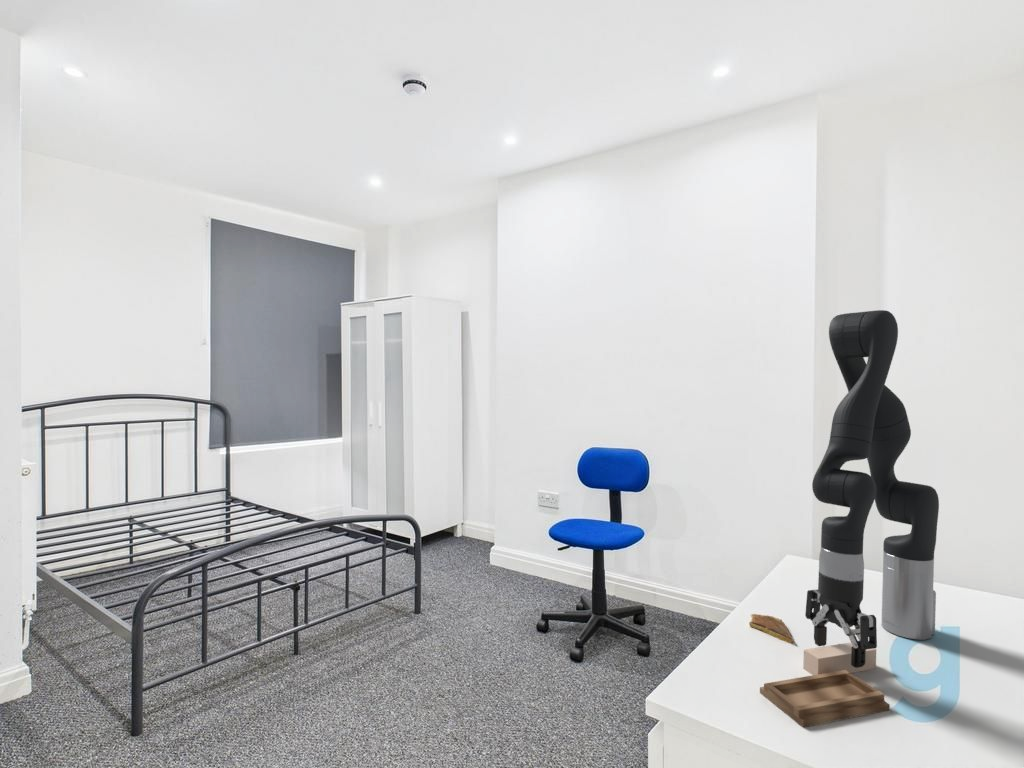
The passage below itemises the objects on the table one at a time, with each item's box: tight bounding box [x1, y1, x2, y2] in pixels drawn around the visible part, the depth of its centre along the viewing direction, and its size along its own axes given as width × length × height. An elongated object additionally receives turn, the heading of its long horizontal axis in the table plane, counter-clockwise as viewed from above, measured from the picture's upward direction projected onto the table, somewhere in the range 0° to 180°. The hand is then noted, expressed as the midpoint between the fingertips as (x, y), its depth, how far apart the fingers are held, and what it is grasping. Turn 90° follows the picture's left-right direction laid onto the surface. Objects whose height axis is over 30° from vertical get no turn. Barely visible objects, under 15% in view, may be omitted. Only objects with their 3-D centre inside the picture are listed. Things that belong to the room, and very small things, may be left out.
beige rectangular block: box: [802, 641, 877, 676], centre depth 108 cm, size 14×4×4 cm, turn 106°
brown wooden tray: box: [759, 670, 891, 728], centre depth 97 cm, size 18×10×2 cm, turn 106°
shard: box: [749, 613, 794, 644], centre depth 123 cm, size 11×8×2 cm
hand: (838, 655), depth 108 cm, fingers open, 8 cm apart
